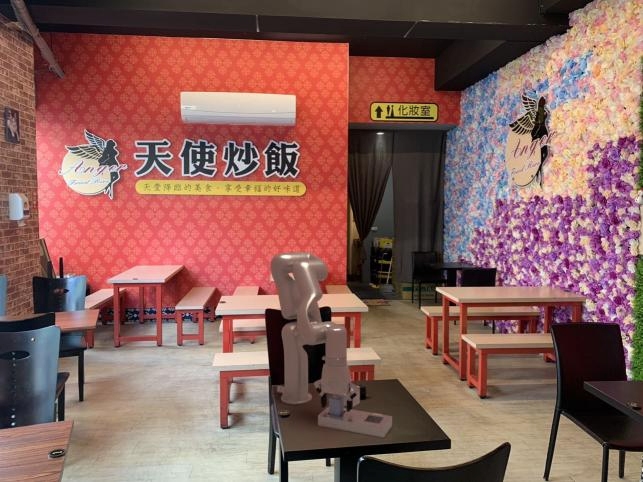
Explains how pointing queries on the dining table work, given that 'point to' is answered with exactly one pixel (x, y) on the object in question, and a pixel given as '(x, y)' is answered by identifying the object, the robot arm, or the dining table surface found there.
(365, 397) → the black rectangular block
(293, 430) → the dining table surface
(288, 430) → the dining table surface
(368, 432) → the panel
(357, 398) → the product box
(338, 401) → the plug
